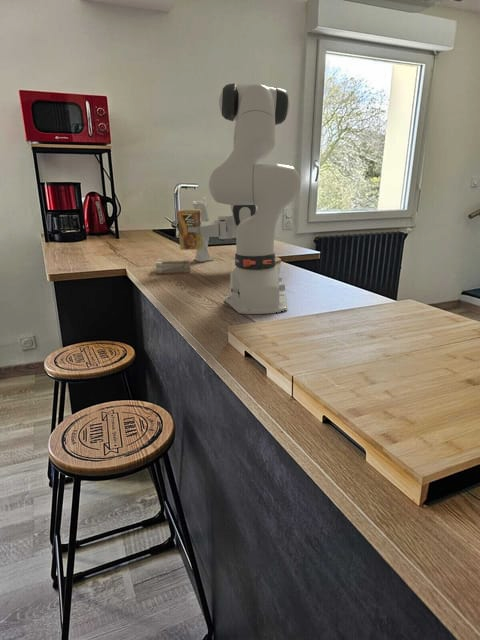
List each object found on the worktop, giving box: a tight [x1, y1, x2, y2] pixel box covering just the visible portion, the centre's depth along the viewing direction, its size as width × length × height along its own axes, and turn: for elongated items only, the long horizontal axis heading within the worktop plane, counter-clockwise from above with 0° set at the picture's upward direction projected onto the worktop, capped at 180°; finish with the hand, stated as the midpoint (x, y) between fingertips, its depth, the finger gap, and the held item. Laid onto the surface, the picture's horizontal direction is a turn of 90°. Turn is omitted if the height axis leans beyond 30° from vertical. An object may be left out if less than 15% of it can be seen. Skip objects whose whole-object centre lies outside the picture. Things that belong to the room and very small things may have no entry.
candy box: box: [176, 209, 203, 251], centre depth 168 cm, size 9×4×15 cm, turn 91°
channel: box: [155, 258, 191, 276], centre depth 171 cm, size 10×13×4 cm
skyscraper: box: [191, 196, 215, 263], centre depth 189 cm, size 8×8×28 cm
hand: (187, 229), depth 168 cm, fingers closed on candy box, 4 cm apart
